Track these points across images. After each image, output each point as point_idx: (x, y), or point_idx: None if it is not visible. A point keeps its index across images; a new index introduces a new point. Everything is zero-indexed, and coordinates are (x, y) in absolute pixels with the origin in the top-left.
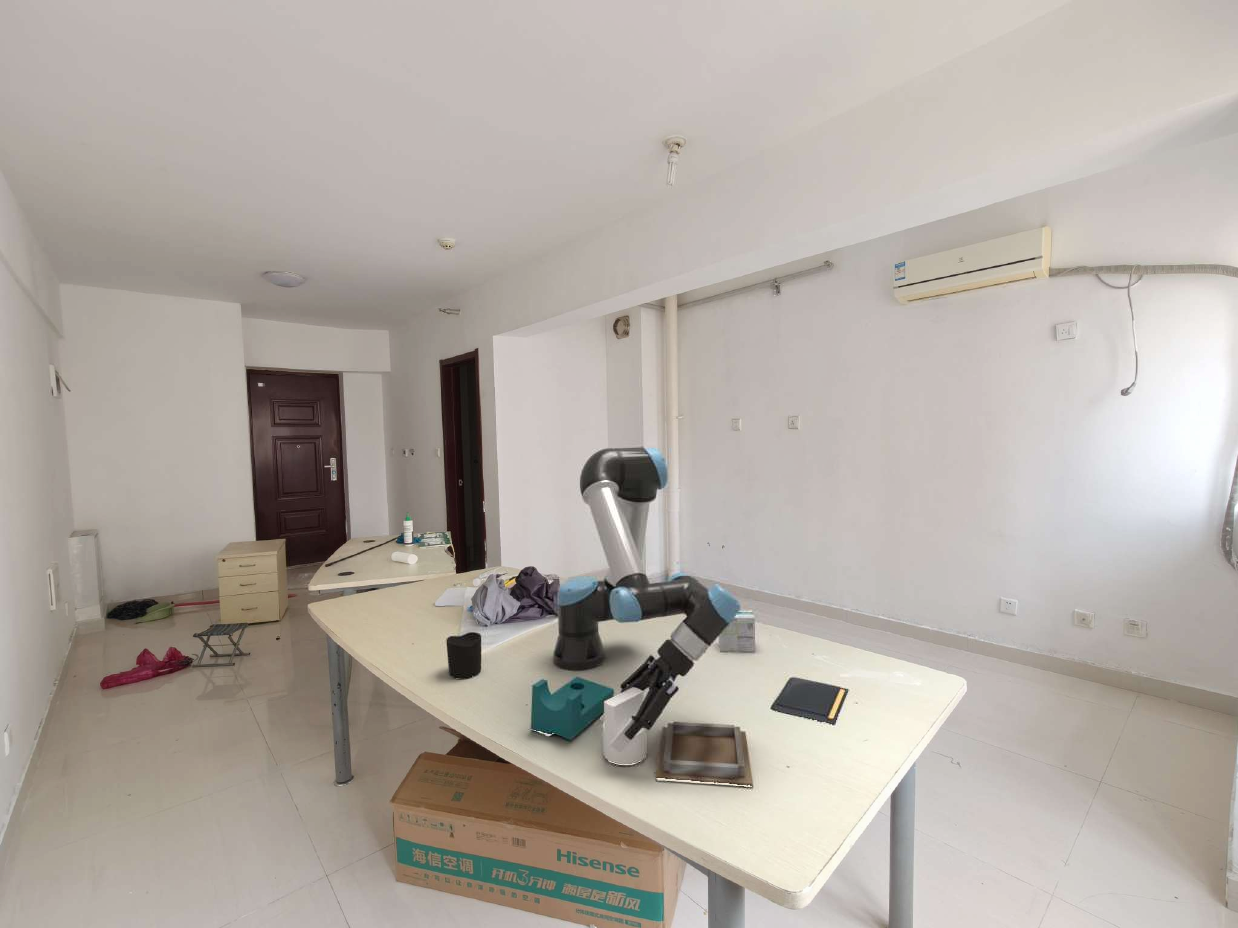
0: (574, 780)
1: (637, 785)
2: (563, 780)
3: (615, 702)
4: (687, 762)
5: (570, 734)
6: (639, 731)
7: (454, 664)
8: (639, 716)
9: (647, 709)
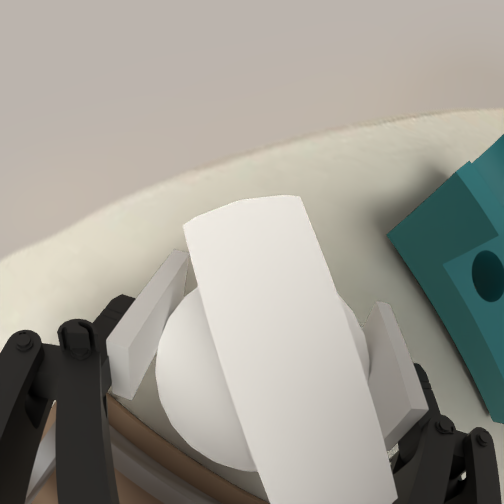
0: (211, 177)
1: (93, 313)
2: (226, 156)
3: (236, 264)
4: (43, 460)
5: (394, 228)
6: (174, 402)
7: None
8: (62, 366)
9: (2, 403)
